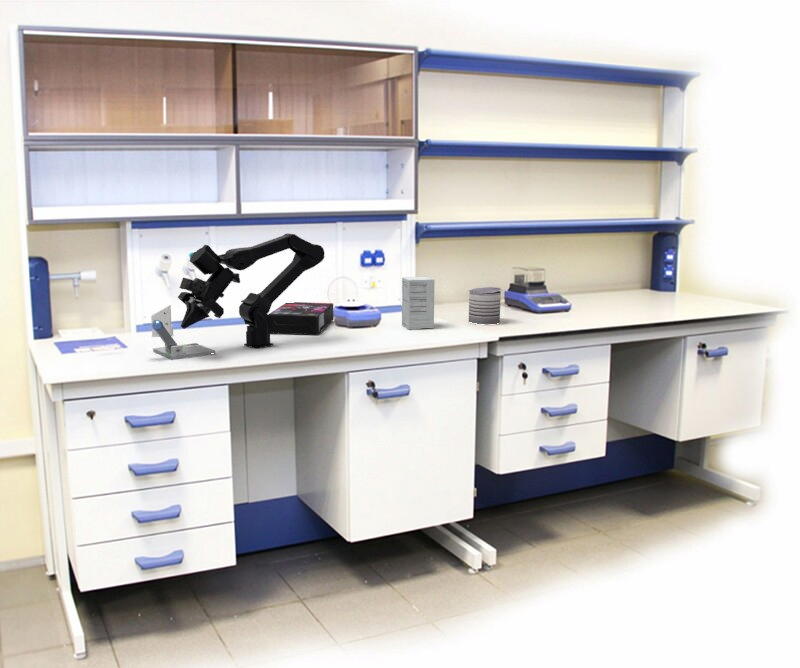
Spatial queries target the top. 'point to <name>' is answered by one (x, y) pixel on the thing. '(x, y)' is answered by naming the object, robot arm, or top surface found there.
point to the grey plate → (163, 320)
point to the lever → (163, 334)
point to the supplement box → (417, 302)
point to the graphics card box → (301, 318)
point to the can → (484, 305)
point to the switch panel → (183, 351)
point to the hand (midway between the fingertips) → (182, 327)
